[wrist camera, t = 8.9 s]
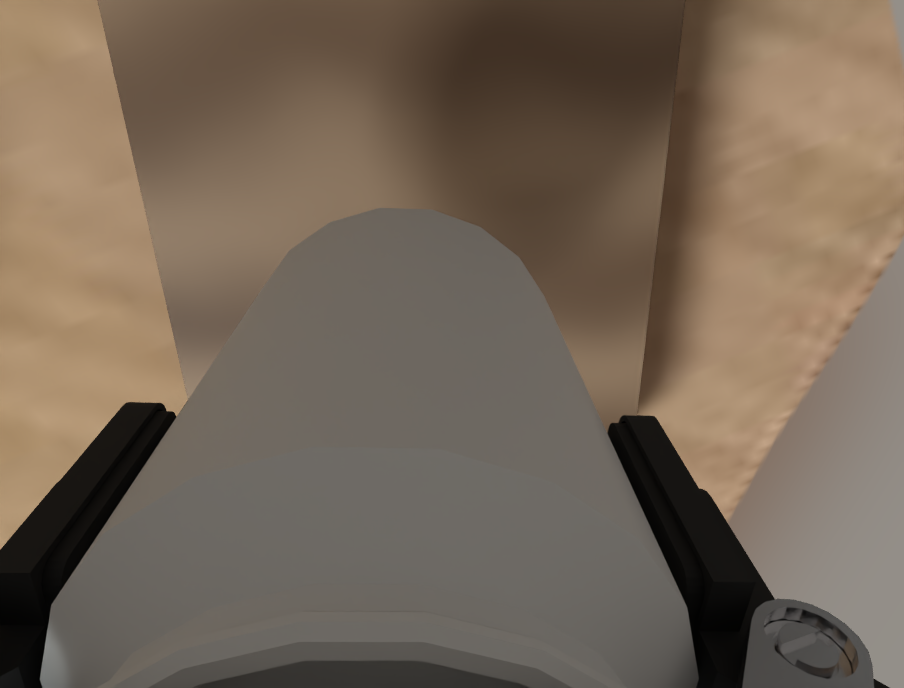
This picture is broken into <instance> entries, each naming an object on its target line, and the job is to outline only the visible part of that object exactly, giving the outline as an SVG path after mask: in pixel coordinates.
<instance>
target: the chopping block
mask: <svg viewBox="0 0 904 688" xmlns="http://www.w3.org/2000/svg"><path fill="white" fill-rule="evenodd" d="M98 5H99V9H100V13H101V18H102V22H103V27H104V31H105V36H106V40H107V44H108V49H109V53H110V58H111V62H112V66H113V71H114V75H115V80H116V84H117V88H118V93H119V97H120V102H121V106H122V111H123V115H124V119H125V124H126V128H127V133H128V137H129V141H130V146H131V150H132V155H133V159H134V163H135V168H136V172H137V177H138V181H139V186H140V190H141V194H142V199H143V203H144V208H145V212H146V216H147V221H148V225H149V230H150V234H151V238H152V243H153V247H154V252H155V256H156V261H157V265H158V269H159V274H160V278H161V283H162V287H163V291H164V296H165V300H166V305H167V309H168V313H169V318H170V322H171V327H172V331H173V336H174V340H175V344H176V349H177V353H178V358H179V362H180V366H181V371H182V375H183V380H184V384H185V389H186V393H187V397H188V399H189V398H190V396H191V395H192V393H193V392H194V390H195V389H196V387H197V386H198V384H199V383H200V381H201V380H202V378H203V377H204V375H205V374H206V372H207V371H208V369H209V368H210V366H211V365H212V363H213V362H214V360H215V359H216V357H217V356H218V354H219V353H220V351H221V350H222V348H223V347H224V345H225V344H226V342H227V341H228V339H229V338H230V336H231V335H232V333H233V332H234V330H235V329H236V327H237V326H238V324H239V323H240V321H241V320H242V318H243V317H244V315H245V314H246V312H247V311H248V309H249V308H250V306H251V305H252V303H253V302H254V300H255V299H256V297H257V296H258V294H259V293H260V291H261V290H262V288H263V287H264V285H265V284H266V283H267V281H268V280H269V278H270V277H271V276H272V274H273V273H274V271H275V270H276V269H277V267H278V266H279V264H280V263H281V262H282V260H283V259H284V257H285V256H286V255H287V253H288V252H289V250H291V249H292V248H294V247H295V246H296V245H298V244H299V243H301V242H302V241H304V240H305V239H306V238H308V237H309V236H311V235H312V234H314V233H315V232H317V231H318V230H319V229H321V228H322V227H324V226H325V225H327V224H328V223H330V222H332V221H336V220H339V219H343V218H346V217H350V216H353V215H356V214H360V213H363V212H367V211H370V210H374V209H377V208H400V209H429V210H435V211H437V212H440V213H443V214H446V215H448V216H451V217H454V218H457V219H460V220H462V221H465V222H468V223H471V224H473V225H476V226H479V227H481V228H482V229H484V230H485V231H486V232H488V233H489V234H490V235H491V236H493V237H494V238H495V239H496V240H498V241H499V242H500V243H502V244H503V245H504V246H505V247H507V248H508V249H509V250H510V251H512V252H513V253H514V254H516V255H517V256H518V257H519V258H520V259H521V261H522V262H523V264H524V265H525V267H526V269H527V270H528V272H529V273H530V275H531V276H532V278H533V279H534V281H535V282H536V284H537V286H538V287H539V289H540V290H541V292H542V293H543V295H544V296H545V299H546V301H547V303H548V305H549V307H550V310H551V312H552V314H553V316H554V318H555V320H556V323H557V325H558V327H559V329H560V331H561V334H562V336H563V338H564V340H565V342H566V344H567V347H568V349H569V351H570V353H571V355H572V358H573V360H574V362H575V364H576V366H577V368H578V371H579V373H580V375H581V377H582V379H583V382H584V384H585V386H586V388H587V390H588V392H589V395H590V397H591V399H592V401H593V403H594V405H595V408H596V410H597V412H598V414H599V416H600V419H601V421H602V423H603V425H604V427H605V429H606V432H607V433H608V428H609V426H610V424H611V423H618V422H619V420H620V418H621V416H623V415H635V416H637V410H638V401H639V393H640V384H641V376H642V367H643V358H644V350H645V341H646V333H647V324H648V316H649V307H650V298H651V290H652V281H653V273H654V264H655V255H656V247H657V238H658V230H659V221H660V213H661V204H662V195H663V187H664V178H665V170H666V161H667V152H668V144H669V135H670V127H671V118H672V109H673V101H674V92H675V84H676V75H677V67H678V58H679V49H680V41H681V32H682V24H683V15H684V6H685V0H98Z"/></svg>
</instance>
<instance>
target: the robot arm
mask: <svg viewBox="0 0 904 688" xmlns="http://www.w3.org/2000/svg"><path fill="white" fill-rule="evenodd" d="M175 419H176V415H175V413H174V412H169V411H166V408H165V406H164V405H163V404H162V403H138V402H128V403H126V404H124V405H123V406H122V407H121V409H120V410H119V411H118V412H117V413H116V415H115V416H114V417H113V418H112V419H111V420H110V422H109V423H108V424H107V425H106V426H105V428H104V429H103V430H102V431H101V432H100V434H99V435H98V436H97V437H96V438H95V440H94V441H93V442H92V443H91V444H90V445H89V447H88V448H87V449H86V450H85V451H84V453H83V454H82V455H81V456H80V457H79V459H78V460H77V461H76V462H75V463H74V465H73V466H72V467H71V468H70V469H69V470H68V472H67V473H66V474H65V475H64V476H63V478H62V479H61V480H60V481H59V482H58V483H56V484H55V486H54V487H53V488H52V489H51V490H50V492H49V493H48V494H47V495H46V496H45V498H44V499H43V500H42V501H41V502H40V503H39V505H38V506H37V507H36V508H35V509H34V511H33V512H32V513H31V514H30V515H29V517H28V518H27V519H26V520H25V521H24V522H23V524H22V525H21V526H20V527H19V528H18V530H17V531H16V532H15V533H14V534H13V535H12V537H11V538H10V539H9V540H8V541H7V543H6V544H5V545H4V546H3V547H2V549H1V550H0V688H42V685H41V682H40V674H41V668H42V661H43V655H44V649H45V642H46V636H47V629H48V623H49V617H50V610H51V605H52V603H53V602H54V600H55V599H56V597H57V596H58V594H59V593H60V591H61V590H62V588H63V587H64V585H65V584H66V582H67V581H68V579H69V578H70V576H71V575H72V573H73V572H74V570H75V569H76V567H77V566H78V564H79V563H80V561H81V560H82V558H83V557H84V555H85V554H86V552H87V551H88V549H89V548H90V546H91V545H92V543H93V542H94V540H95V539H96V537H97V536H98V534H99V533H100V531H101V530H102V528H103V527H104V525H105V524H106V522H107V521H108V519H109V518H110V516H111V515H112V513H113V512H114V510H115V509H116V507H117V506H118V504H119V503H120V501H121V500H122V498H123V497H124V495H125V494H126V492H127V491H128V489H129V488H130V486H131V485H132V483H133V482H134V480H135V479H136V477H137V476H138V474H139V473H140V471H141V470H142V468H143V467H144V465H145V464H146V462H147V461H148V459H149V458H150V456H151V455H152V453H153V452H154V450H155V449H156V447H157V446H158V444H159V443H160V441H161V440H162V438H163V437H164V435H165V434H166V432H167V431H168V429H169V428H170V426H171V425H172V423H173V422H174V420H175ZM607 434H608V436H609V438H610V440H611V443H612V445H613V447H614V449H615V451H616V453H617V456H618V458H619V460H620V462H621V464H622V467H623V469H624V471H625V473H626V475H627V477H628V480H629V482H630V484H631V486H632V488H633V491H634V493H635V495H636V497H637V499H638V501H639V504H640V506H641V508H642V510H643V512H644V515H645V517H646V519H647V521H648V523H649V525H650V528H651V530H652V532H653V534H654V536H655V539H656V541H657V543H658V545H659V547H660V549H661V552H662V554H663V556H664V558H665V560H666V562H667V565H668V567H669V569H670V571H671V573H672V576H673V578H674V580H675V582H676V584H677V586H678V589H679V591H680V593H681V595H682V597H683V600H684V602H685V604H686V606H687V609H688V615H689V622H690V628H691V634H692V640H693V646H694V652H695V658H696V664H697V670H698V676H699V680H698V683H697V686H696V688H889V687H887V686H886V685H884V684H882V683H880V682H878V681H877V680H875V679H873V668H872V662H871V658H870V655H869V652H868V650H867V648H866V647H865V645H864V644H863V642H862V641H861V639H860V638H859V636H857V635H856V634H855V633H854V632H853V631H852V630H851V629H850V628H849V627H848V626H847V625H846V624H845V623H843V622H842V621H841V620H839V619H838V618H836V617H835V616H833V615H832V614H830V613H829V612H827V611H825V610H822V609H820V608H818V607H816V606H814V605H811V604H808V603H804V602H801V601H797V600H790V599H774V597H773V596H772V594H771V592H770V591H769V589H768V588H767V586H766V584H765V583H764V581H763V580H762V578H761V576H760V575H759V573H758V571H757V570H756V568H755V567H754V565H753V563H752V562H751V560H750V559H749V557H748V555H747V554H746V552H745V551H744V549H743V547H742V546H741V544H740V543H739V541H738V539H737V538H736V536H735V535H734V533H733V531H732V530H731V528H730V526H729V525H728V523H727V522H726V520H725V518H724V517H723V515H722V513H721V512H720V510H719V509H718V507H717V505H716V504H715V502H714V501H713V499H712V497H711V496H710V495H709V494H708V492H707V491H705V490H703V489H699V488H698V486H697V485H696V483H695V481H694V480H693V478H692V476H691V475H690V473H689V471H688V470H687V468H686V466H685V465H684V463H683V461H682V460H681V458H680V456H679V455H678V453H677V451H676V450H675V448H674V447H673V445H672V443H671V442H670V440H669V438H668V437H667V435H666V433H665V432H664V430H663V428H662V427H661V425H660V423H659V422H658V420H657V419H656V418H655V416H635V415H623V416H621V418H620V420H619V422H618V423H611V424H610V426H609V428H608V433H607Z"/></svg>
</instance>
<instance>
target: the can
mask: <svg viewBox="0 0 904 688" xmlns="http://www.w3.org/2000/svg"><path fill="white" fill-rule="evenodd" d="M698 680H699V676H698V670H697V664H696V658H695V652H694V646H693V640H692V634H691V628H690V622H689V615H688V609H687V606H686V604H685V602H684V600H683V597H682V595H681V593H680V591H679V589H678V586H677V584H676V582H675V580H674V578H673V576H672V573H671V571H670V569H669V567H668V565H667V562H666V560H665V558H664V556H663V554H662V552H661V549H660V547H659V545H658V543H657V541H656V539H655V536H654V534H653V532H652V530H651V528H650V525H649V523H648V521H647V519H646V517H645V515H644V512H643V510H642V508H641V506H640V504H639V501H638V499H637V497H636V495H635V493H634V491H633V488H632V486H631V484H630V482H629V480H628V477H627V475H626V473H625V471H624V469H623V467H622V464H621V462H620V460H619V458H618V456H617V453H616V451H615V449H614V447H613V445H612V443H611V440H610V438H609V436H608V434H607V432H606V429H605V427H604V425H603V423H602V421H601V419H600V416H599V414H598V412H597V410H596V408H595V405H594V403H593V401H592V399H591V397H590V395H589V392H588V390H587V388H586V386H585V384H584V382H583V379H582V377H581V375H580V373H579V371H578V368H577V366H576V364H575V362H574V360H573V358H572V355H571V353H570V351H569V349H568V347H567V344H566V342H565V340H564V338H563V336H562V334H561V331H560V329H559V327H558V325H557V323H556V320H555V318H554V316H553V314H552V312H551V310H550V307H549V305H548V303H547V301H546V299H545V296H544V295H543V293H542V292H541V290H540V289H539V287H538V286H537V284H536V282H535V281H534V279H533V278H532V276H531V275H530V273H529V272H528V270H527V269H526V267H525V265H524V264H523V262H522V261H521V259H520V258H519V257H518V256H517V255H516V254H514V253H513V252H512V251H510V250H509V249H508V248H507V247H505V246H504V245H503V244H502V243H500V242H499V241H498V240H496V239H495V238H494V237H493V236H491V235H490V234H489V233H488V232H486V231H485V230H484V229H482V228H481V227H479V226H476V225H473V224H471V223H468V222H465V221H462V220H460V219H457V218H454V217H451V216H448V215H446V214H443V213H440V212H437V211H435V210H429V209H400V208H377V209H374V210H370V211H367V212H363V213H360V214H356V215H353V216H350V217H346V218H343V219H339V220H336V221H332V222H330V223H328V224H327V225H325V226H324V227H322V228H321V229H319V230H318V231H317V232H315V233H314V234H312V235H311V236H309V237H308V238H306V239H305V240H304V241H302V242H301V243H299V244H298V245H296V246H295V247H294V248H292V249H291V250H289V252H288V253H287V255H286V256H285V257H284V259H283V260H282V262H281V263H280V264H279V266H278V267H277V269H276V270H275V271H274V273H273V274H272V276H271V277H270V278H269V280H268V281H267V283H266V284H265V285H264V287H263V288H262V290H261V291H260V293H259V294H258V296H257V297H256V299H255V300H254V302H253V303H252V305H251V306H250V308H249V309H248V311H247V312H246V314H245V315H244V317H243V318H242V320H241V321H240V323H239V324H238V326H237V327H236V329H235V330H234V332H233V333H232V335H231V336H230V338H229V339H228V341H227V342H226V344H225V345H224V347H223V348H222V350H221V351H220V353H219V354H218V356H217V357H216V359H215V360H214V362H213V363H212V365H211V366H210V368H209V369H208V371H207V372H206V374H205V375H204V377H203V378H202V380H201V381H200V383H199V384H198V386H197V387H196V389H195V390H194V392H193V393H192V395H191V396H190V398H189V399H188V401H187V402H186V404H185V405H184V407H183V408H182V410H181V411H180V413H179V414H178V416H177V417H176V419H175V420H174V422H173V423H172V425H171V426H170V428H169V429H168V431H167V432H166V434H165V435H164V437H163V438H162V440H161V441H160V443H159V444H158V446H157V447H156V449H155V450H154V452H153V453H152V455H151V456H150V458H149V459H148V461H147V462H146V464H145V465H144V467H143V468H142V470H141V471H140V473H139V474H138V476H137V477H136V479H135V480H134V482H133V483H132V485H131V486H130V488H129V489H128V491H127V492H126V494H125V495H124V497H123V498H122V500H121V501H120V503H119V504H118V506H117V507H116V509H115V510H114V512H113V513H112V515H111V516H110V518H109V519H108V521H107V522H106V524H105V525H104V527H103V528H102V530H101V531H100V533H99V534H98V536H97V537H96V539H95V540H94V542H93V543H92V545H91V546H90V548H89V549H88V551H87V552H86V554H85V555H84V557H83V558H82V560H81V561H80V563H79V564H78V566H77V567H76V569H75V570H74V572H73V573H72V575H71V576H70V578H69V579H68V581H67V582H66V584H65V585H64V587H63V588H62V590H61V591H60V593H59V594H58V596H57V597H56V599H55V600H54V602H53V603H52V605H51V610H50V617H49V623H48V629H47V636H46V642H45V649H44V655H43V661H42V668H41V674H40V682H41V685H42V688H696V686H697V683H698Z"/></svg>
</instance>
